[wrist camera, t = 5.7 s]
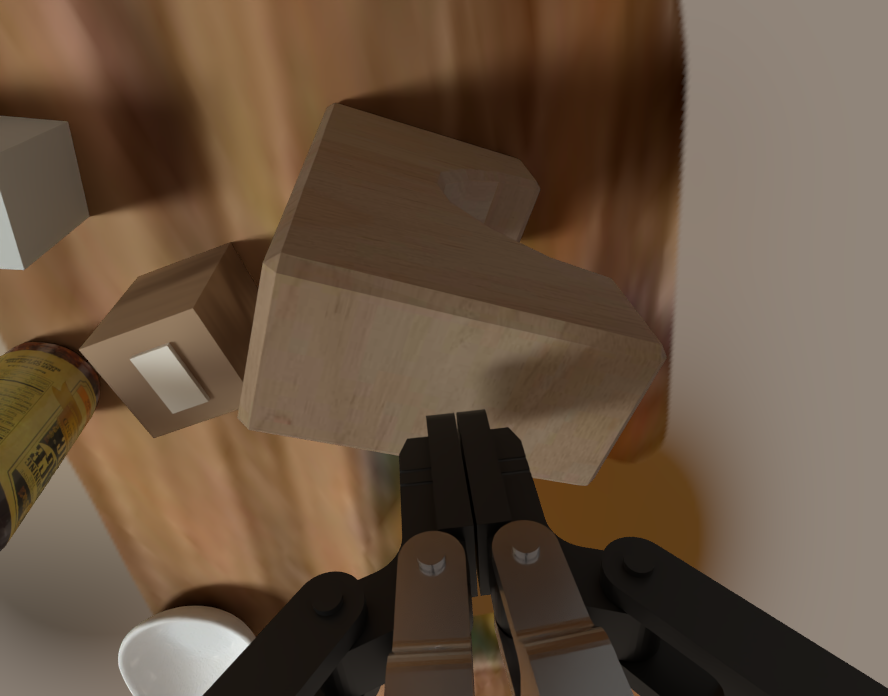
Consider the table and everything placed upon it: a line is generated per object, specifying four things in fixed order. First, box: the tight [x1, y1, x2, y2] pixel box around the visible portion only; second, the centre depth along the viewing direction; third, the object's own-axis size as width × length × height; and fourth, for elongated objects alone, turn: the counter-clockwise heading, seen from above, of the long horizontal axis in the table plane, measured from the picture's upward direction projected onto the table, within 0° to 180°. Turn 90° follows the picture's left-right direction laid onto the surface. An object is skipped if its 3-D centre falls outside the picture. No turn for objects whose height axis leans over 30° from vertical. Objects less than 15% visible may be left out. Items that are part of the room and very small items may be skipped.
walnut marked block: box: [79, 242, 258, 438], centre depth 32 cm, size 6×6×8 cm
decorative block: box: [238, 103, 667, 485], centre depth 24 cm, size 11×6×20 cm, turn 72°
